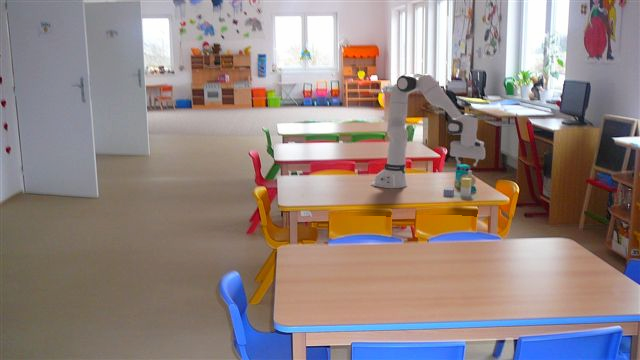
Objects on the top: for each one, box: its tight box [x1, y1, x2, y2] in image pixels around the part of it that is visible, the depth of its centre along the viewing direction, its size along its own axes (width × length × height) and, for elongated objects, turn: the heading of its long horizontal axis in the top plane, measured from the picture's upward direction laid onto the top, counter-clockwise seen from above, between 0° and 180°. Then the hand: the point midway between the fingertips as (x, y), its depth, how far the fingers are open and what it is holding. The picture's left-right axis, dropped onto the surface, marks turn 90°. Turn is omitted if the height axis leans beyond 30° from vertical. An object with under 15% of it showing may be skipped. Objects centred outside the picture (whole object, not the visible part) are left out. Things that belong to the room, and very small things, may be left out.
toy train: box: [453, 163, 477, 192], centre depth 408 cm, size 8×17×15 cm, turn 15°
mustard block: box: [461, 178, 472, 188], centre depth 389 cm, size 5×5×5 cm
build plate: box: [452, 191, 479, 200], centre depth 391 cm, size 13×13×1 cm
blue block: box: [443, 187, 455, 197], centre depth 391 cm, size 5×5×5 cm
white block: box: [460, 187, 472, 197], centre depth 390 cm, size 5×5×5 cm
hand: (466, 165), depth 387 cm, fingers open, 8 cm apart
